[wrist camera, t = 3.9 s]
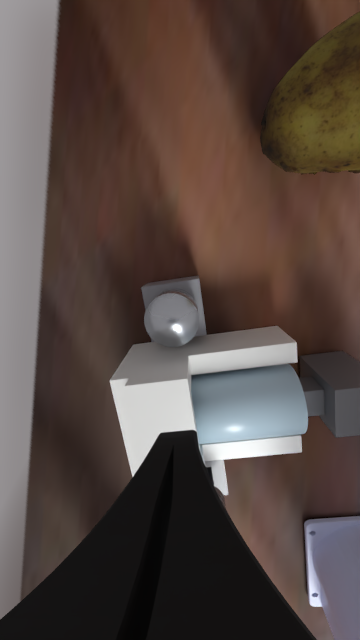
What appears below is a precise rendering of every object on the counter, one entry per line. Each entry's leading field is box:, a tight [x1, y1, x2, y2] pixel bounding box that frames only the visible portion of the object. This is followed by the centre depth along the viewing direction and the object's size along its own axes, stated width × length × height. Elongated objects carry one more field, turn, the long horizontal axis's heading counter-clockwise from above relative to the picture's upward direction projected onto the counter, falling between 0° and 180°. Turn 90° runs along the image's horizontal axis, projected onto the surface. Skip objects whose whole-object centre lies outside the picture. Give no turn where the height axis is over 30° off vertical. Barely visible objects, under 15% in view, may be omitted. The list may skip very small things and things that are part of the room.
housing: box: [110, 276, 302, 495], centre depth 16 cm, size 15×10×6 cm, turn 9°
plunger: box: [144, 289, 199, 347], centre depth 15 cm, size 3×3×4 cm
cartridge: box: [191, 351, 360, 444], centre depth 16 cm, size 4×12×5 cm, turn 99°
